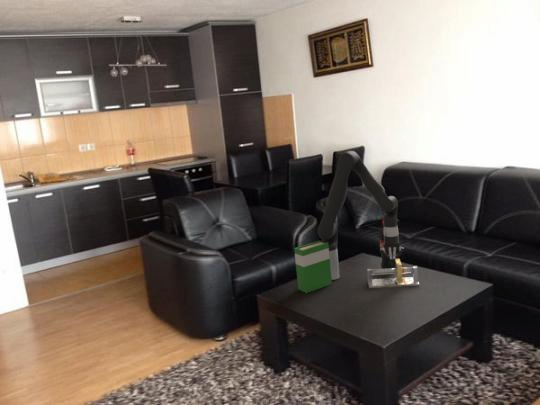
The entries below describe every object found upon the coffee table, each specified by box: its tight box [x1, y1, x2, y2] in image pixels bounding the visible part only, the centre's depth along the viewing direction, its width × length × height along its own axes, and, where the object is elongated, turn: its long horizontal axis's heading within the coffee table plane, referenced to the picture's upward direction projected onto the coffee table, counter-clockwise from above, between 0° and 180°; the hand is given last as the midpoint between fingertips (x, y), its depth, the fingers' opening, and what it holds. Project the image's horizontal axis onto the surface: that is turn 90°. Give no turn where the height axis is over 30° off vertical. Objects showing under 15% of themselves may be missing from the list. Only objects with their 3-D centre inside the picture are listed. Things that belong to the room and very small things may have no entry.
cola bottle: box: [378, 220, 395, 269], centre depth 289 cm, size 8×8×30 cm
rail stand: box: [366, 265, 420, 289], centre depth 272 cm, size 26×10×9 cm, turn 83°
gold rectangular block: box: [395, 258, 403, 283], centre depth 271 cm, size 2×10×10 cm, turn 173°
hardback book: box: [293, 240, 333, 294], centre depth 277 cm, size 18×7×24 cm, turn 122°
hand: (392, 265), depth 270 cm, fingers closed
